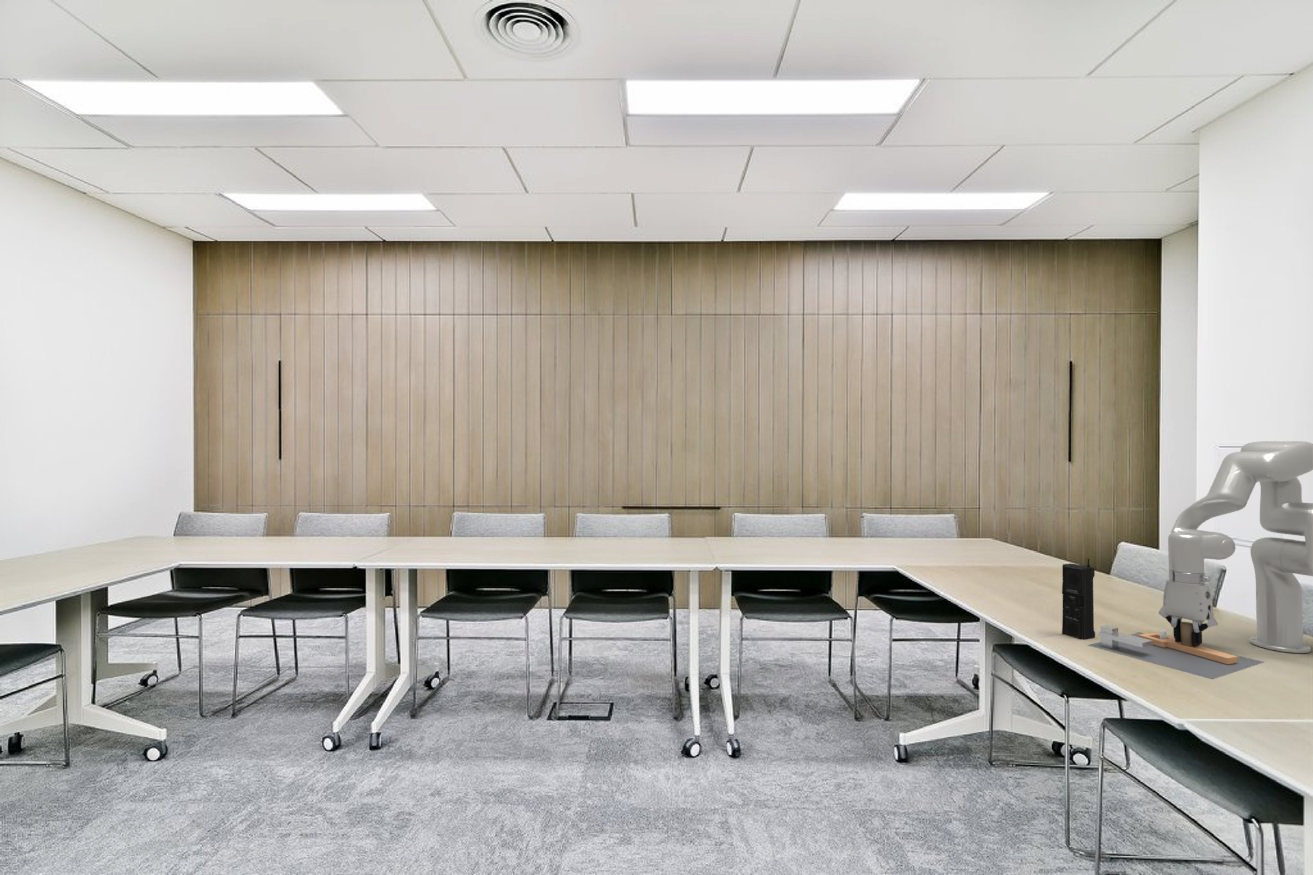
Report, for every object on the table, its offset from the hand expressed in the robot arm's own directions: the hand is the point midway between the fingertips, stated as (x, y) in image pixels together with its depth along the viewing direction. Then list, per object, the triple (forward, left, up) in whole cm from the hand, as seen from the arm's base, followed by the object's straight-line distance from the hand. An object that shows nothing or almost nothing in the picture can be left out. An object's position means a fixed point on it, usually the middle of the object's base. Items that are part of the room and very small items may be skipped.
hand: (1187, 642), depth 172 cm
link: (0, 0, -2) cm, 2 cm away
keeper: (+14, -8, -4) cm, 17 cm away
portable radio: (+12, -23, -4) cm, 26 cm away
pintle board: (+5, -1, -4) cm, 7 cm away
